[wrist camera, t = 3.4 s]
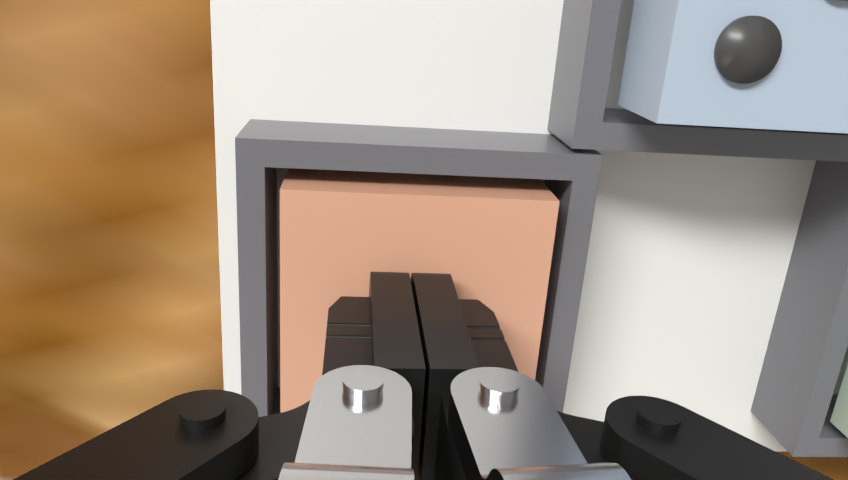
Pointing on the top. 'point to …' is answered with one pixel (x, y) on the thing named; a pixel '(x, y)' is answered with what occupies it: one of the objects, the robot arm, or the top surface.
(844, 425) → the button two
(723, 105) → the button three
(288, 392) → the button one
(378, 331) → the robot arm
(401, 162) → the button panel
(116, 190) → the top surface
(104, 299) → the top surface
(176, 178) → the top surface
